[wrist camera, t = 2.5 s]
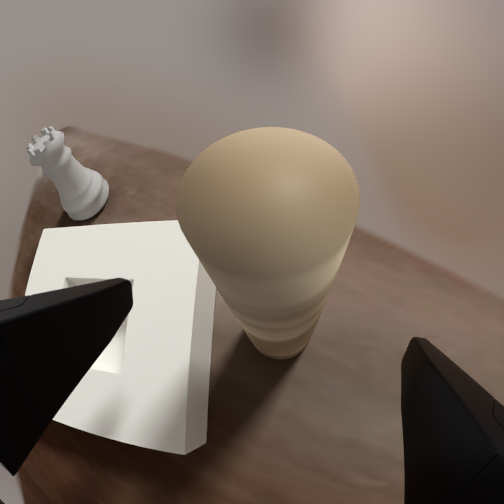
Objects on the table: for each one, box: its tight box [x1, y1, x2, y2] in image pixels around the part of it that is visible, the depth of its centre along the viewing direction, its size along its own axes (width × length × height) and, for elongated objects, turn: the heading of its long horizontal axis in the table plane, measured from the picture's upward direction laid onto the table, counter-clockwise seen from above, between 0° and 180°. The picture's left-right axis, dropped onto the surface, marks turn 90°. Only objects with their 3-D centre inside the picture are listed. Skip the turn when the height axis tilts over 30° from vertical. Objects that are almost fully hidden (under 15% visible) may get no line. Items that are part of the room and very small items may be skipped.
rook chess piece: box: [27, 126, 109, 220], centre depth 20 cm, size 4×4×8 cm
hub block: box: [25, 220, 216, 455], centre depth 16 cm, size 12×12×4 cm
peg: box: [176, 127, 360, 359], centre depth 12 cm, size 4×4×13 cm
